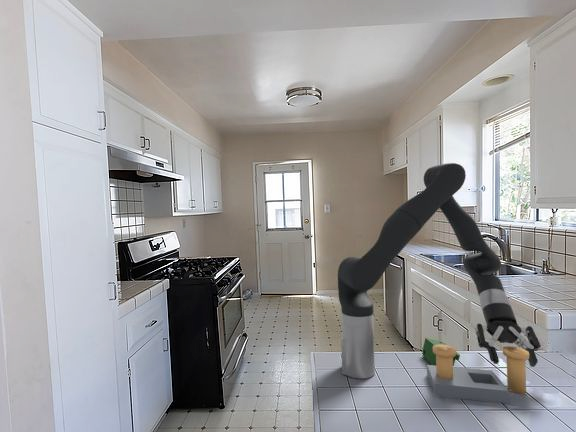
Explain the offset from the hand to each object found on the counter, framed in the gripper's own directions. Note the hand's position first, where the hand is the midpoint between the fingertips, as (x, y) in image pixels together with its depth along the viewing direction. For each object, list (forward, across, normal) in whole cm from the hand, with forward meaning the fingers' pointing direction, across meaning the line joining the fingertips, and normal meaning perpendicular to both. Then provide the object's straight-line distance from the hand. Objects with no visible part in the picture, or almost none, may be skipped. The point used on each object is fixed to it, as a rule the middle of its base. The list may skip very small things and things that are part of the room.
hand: (515, 364), depth 85 cm
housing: (+6, -13, +2) cm, 15 cm away
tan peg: (+5, 0, +4) cm, 6 cm away
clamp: (-4, -15, +13) cm, 21 cm away
